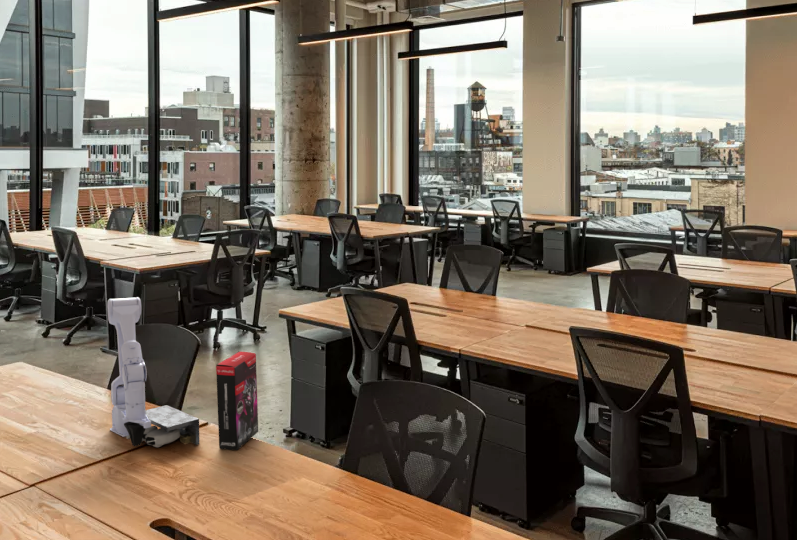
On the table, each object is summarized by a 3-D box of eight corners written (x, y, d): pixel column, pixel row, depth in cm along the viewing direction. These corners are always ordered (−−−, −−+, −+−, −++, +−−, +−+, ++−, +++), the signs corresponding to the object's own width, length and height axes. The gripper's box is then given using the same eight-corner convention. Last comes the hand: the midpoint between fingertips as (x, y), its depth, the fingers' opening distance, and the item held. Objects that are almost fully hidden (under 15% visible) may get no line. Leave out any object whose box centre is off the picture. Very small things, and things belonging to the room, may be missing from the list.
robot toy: (123, 446, 234) (158, 452, 227) (122, 432, 234) (156, 438, 226) (154, 434, 245) (187, 440, 238) (153, 421, 244) (186, 426, 237)
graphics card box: (237, 452, 229) (236, 365, 226) (216, 450, 231) (215, 363, 227) (258, 432, 246) (258, 352, 242) (238, 431, 247) (238, 350, 244)
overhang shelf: (136, 437, 240) (135, 412, 239) (167, 429, 248) (166, 405, 247) (168, 453, 227) (167, 427, 226) (199, 443, 235) (199, 418, 234)
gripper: (111, 399, 230) (112, 442, 231) (135, 410, 220) (136, 454, 222) (132, 394, 235) (133, 436, 237) (156, 405, 225) (158, 448, 227)
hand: (136, 445), depth 230 cm, fingers closed
